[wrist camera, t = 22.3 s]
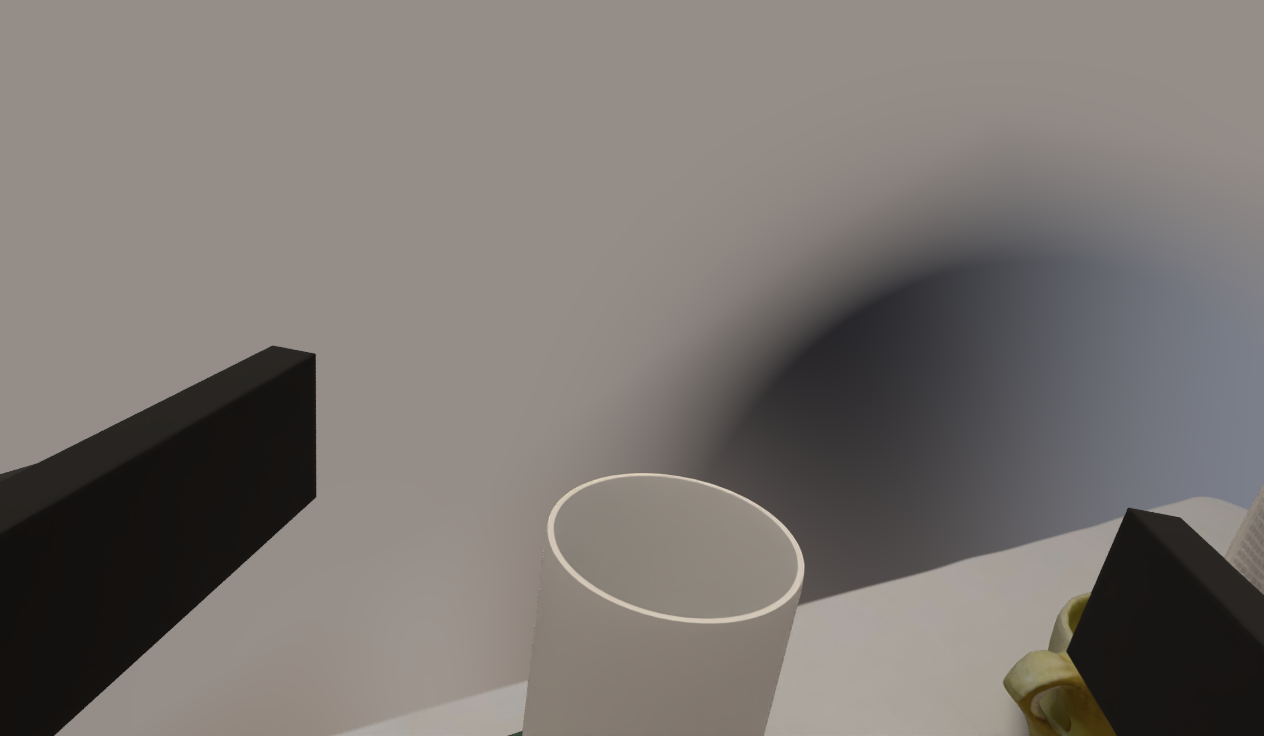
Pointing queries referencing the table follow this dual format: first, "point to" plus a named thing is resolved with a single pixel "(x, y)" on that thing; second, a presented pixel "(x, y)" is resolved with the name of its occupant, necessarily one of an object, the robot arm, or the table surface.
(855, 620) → the table surface
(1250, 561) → the skyscraper
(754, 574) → the cup
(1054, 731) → the mug
